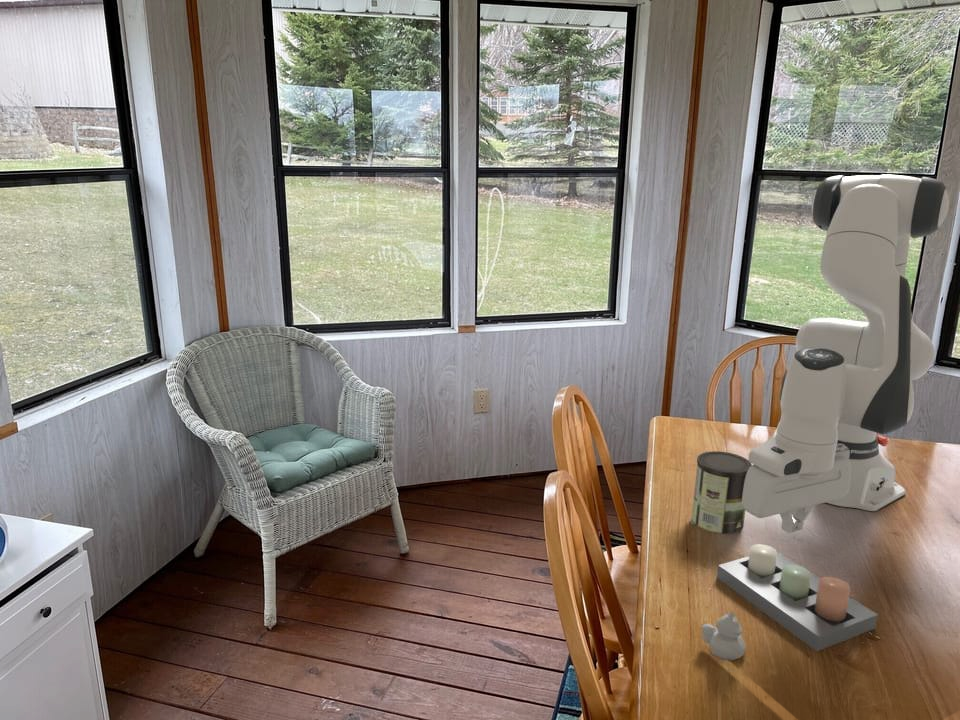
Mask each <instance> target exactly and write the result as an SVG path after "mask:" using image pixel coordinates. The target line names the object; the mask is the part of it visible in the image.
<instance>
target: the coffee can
mask: <svg viewBox="0 0 960 720" xmlns="http://www.w3.org/2000/svg"><path fill="white" fill-rule="evenodd" d="M696 463H697V464H696V471H695V472H696V474H695V484H694V490H693V491H694V492H693V503H692V511H691V517H690V523H691V525H694V524H695V525H696V526H697V527H699V528H701V529H702V530H704V531H707V532H710V533H716V534H720V535H721V534H724V535H726V534H727V535H728V534H735V533H738V532H740V531H742V530H743V529H744V526H745V524H744V523H745V516H746V510H745V509H744V507H743V505H742V495H743V488H744V482H745V477H746V474H747V471H748V470H749V468H750V467H751V466H752V465H753V464H752V463H751V462H749V459H747V458H745V457H744V456H742V455H738V454H736V453H732V452H727V451H706V452H702V453H700V454H698V456H697V457H696Z"/></svg>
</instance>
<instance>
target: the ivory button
mask: <svg viewBox="0 0 960 720" xmlns="http://www.w3.org/2000/svg"><path fill="white" fill-rule="evenodd" d="M749 548H750V549H749V555H748V556H749V561H748V569H749V570H750V571H752V572H753V573H755V574H756V575H758V576H759V577H761V578H765V577H768V576H771V575H774V573H775V567H776V560H777V552H778V551H777V550H776V549H775V548H774V547H772V546H770V545H767V544H761V543H757V544H755V543H754V544H753V545H751V546H750V547H749Z"/></svg>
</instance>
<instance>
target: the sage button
mask: <svg viewBox="0 0 960 720" xmlns="http://www.w3.org/2000/svg"><path fill="white" fill-rule="evenodd" d="M798 565H799V564H798ZM798 565H792V564H790V565H785V566H783V568H782V573H781V580H780V586H779V590H780V591H781V592H783V593H784V594H785V595H787V596H788V597H790V598H791V599H793V600H794V601H797V600H800V599H803V598H806V597H808V592H809V586H810V580H811V573H812V572H811V571H809V569H807V568H806V567H804V566H802V565H800V566H798ZM810 572H811V573H810Z"/></svg>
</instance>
